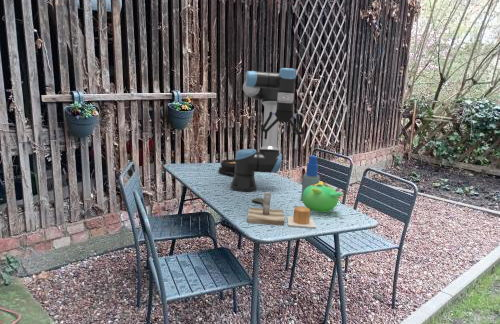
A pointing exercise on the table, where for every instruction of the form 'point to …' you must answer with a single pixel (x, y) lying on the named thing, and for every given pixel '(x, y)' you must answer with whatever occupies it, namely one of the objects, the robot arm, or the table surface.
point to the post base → (265, 218)
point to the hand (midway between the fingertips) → (281, 147)
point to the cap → (301, 215)
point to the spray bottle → (310, 174)
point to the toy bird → (320, 197)
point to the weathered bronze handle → (259, 200)
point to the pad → (293, 224)
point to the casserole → (228, 167)
